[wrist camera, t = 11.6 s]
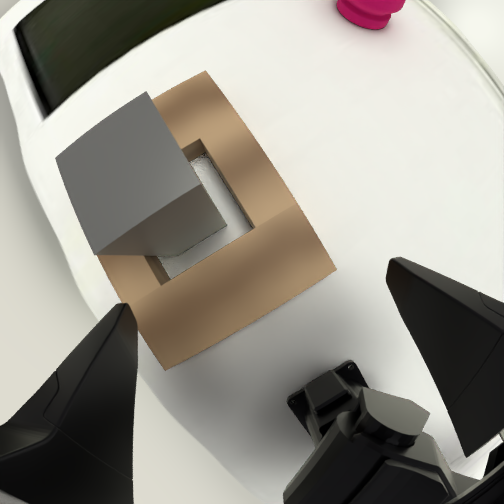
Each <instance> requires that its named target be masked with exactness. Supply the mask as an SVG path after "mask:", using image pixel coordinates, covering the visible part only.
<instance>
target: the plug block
mask: <svg viewBox="0 0 504 504" xmlns="http://www.w3.org/2000/svg"><path fill="white" fill-rule="evenodd" d="M55 159H56V162H57V165H58V168H59V171H60V174H61V177H62V179H63V182H64V185H65V188H66V190H67V193H68V195H69V198H70V201H71V203H72V206H73V208H74V211H75V213H76V215H77V218H78V220H79V222H80V225H81V227H82V229H83V232H84V234H85V236H86V238H87V240H88V243H89V245H90V247H91V249H92V251H93V253H94V255H134V256H178V255H180V254H181V253H183V252H185V251H186V250H188V249H189V248H191V247H193V246H194V245H196V244H197V243H199V242H201V241H202V240H204V239H205V238H207V237H209V236H210V235H212V234H214V233H215V232H217V231H219V230H220V229H222V228H223V227H225V226H227V224H226V223H225V221H224V219H223V218H222V216H221V214H220V213H219V211H218V209H217V208H216V206H215V204H214V203H213V201H212V199H211V198H210V196H209V194H208V193H207V191H206V189H205V188H204V186H203V184H202V183H201V181H200V179H199V178H198V176H197V174H196V173H195V171H194V169H193V168H192V166H191V164H190V163H189V161H188V159H187V158H186V156H185V155H184V153H183V151H182V150H181V148H180V146H179V145H178V143H177V141H176V140H175V138H174V136H173V135H172V133H171V131H170V130H169V128H168V126H167V125H166V123H165V121H164V120H163V118H162V116H161V115H160V113H159V111H158V110H157V108H156V106H155V105H154V103H153V101H152V100H151V98H150V96H149V95H148V93H147V91H146V92H144V93H143V94H141V95H140V96H138V97H136V98H135V99H133V100H132V101H130V102H129V103H127V104H125V105H124V106H122V107H121V108H119V109H118V110H116V111H115V112H114V113H112V114H111V115H109V116H108V117H106V118H105V119H104V120H102V121H101V122H99V123H98V124H97V125H95V126H94V127H93V128H91V129H90V130H89V131H87V132H86V133H85V134H84V135H82V136H81V137H80V138H78V139H77V140H76V141H75V142H74V143H72V144H71V145H70V146H69V147H67V148H66V149H65V150H64V151H63V152H62V153H60V154H59V155H58V156H57V157H56V158H55Z"/></svg>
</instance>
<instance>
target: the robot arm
mask: <svg viewBox="0 0 504 504" xmlns="http://www.w3.org/2000/svg"><path fill="white" fill-rule="evenodd" d="M386 283H387V286H388V288H389V290H390V292H391V295H392V297H393V299H394V301H395V304H396V306H397V308H398V311H399V313H400V315H401V317H402V319H403V321H404V323H405V325H406V327H407V328H408V330H409V332H410V334H411V336H412V338H413V340H414V342H415V344H416V345H417V347H418V349H419V351H420V353H421V355H422V357H423V359H424V361H425V363H426V365H427V367H428V369H429V371H430V373H431V376H432V378H433V380H434V382H435V384H436V386H437V388H438V391H439V393H440V395H441V397H442V400H443V402H444V404H445V406H446V409H447V410H448V414H449V416H450V418H451V421H452V423H453V426H454V428H455V431H456V433H457V436H458V439H459V441H460V444H461V446H462V449H463V452H464V454H465V457H466V458H467V457H469V456H470V455H471V454H473V453H474V452H476V451H477V450H479V449H480V448H481V447H483V446H484V445H485V444H487V443H488V442H489V441H491V440H492V439H493V438H494V437H496V436H497V435H498V434H499V435H500V437H501V439H502V441H503V442H502V443H501V444H500V445H498V446H497V447H496V448H495V449H493V450H492V451H491V452H490V454H489V458H488V462H487V465H486V469H485V473H484V476H483V478H482V479H481V480H477V479H474V478H471V477H467V476H464V475H461V474H458V473H455V472H453V471H451V470H450V468H449V466H448V464H447V462H446V461H445V459H444V457H443V455H442V453H441V451H440V449H439V447H438V445H437V444H436V442H435V440H434V438H433V437H432V436H430V435H428V434H426V433H424V432H422V429H423V427H424V425H425V423H426V421H427V419H428V417H429V415H430V413H429V412H428V411H426V410H425V409H423V408H422V407H420V406H419V405H417V404H416V403H414V402H413V401H411V400H408V399H404V398H400V397H397V396H393V395H390V394H386V393H383V392H379V391H376V390H373V389H369V387H368V385H367V384H366V382H365V380H364V378H363V376H362V374H361V372H360V371H359V369H358V367H357V365H356V364H355V363H354V362H353V361H352V360H349V361H347V362H345V363H344V364H342V365H341V366H339V367H338V368H336V369H334V370H333V371H332V370H330V371H328V372H327V373H325V374H324V375H322V376H320V377H319V378H317V379H315V380H314V381H312V382H310V383H309V384H307V385H305V387H304V388H303V389H302V390H300V391H298V392H296V393H295V394H293V395H291V396H289V397H288V399H287V404H288V406H289V407H290V408H291V410H292V411H293V413H294V414H295V415H296V417H297V418H298V420H299V421H300V422H301V424H302V425H303V426H304V428H305V429H306V430H307V432H308V433H309V434H310V436H311V437H312V440H313V443H314V445H315V450H314V451H313V453H312V454H311V455H310V457H309V458H308V459H307V461H306V462H305V463H304V465H303V466H302V467H301V469H300V470H299V471H298V473H297V474H296V475H295V476H294V478H293V479H292V480H291V481H290V483H289V484H288V485H287V487H286V489H285V491H284V493H283V499H284V504H504V303H503V302H500V301H498V300H496V299H494V298H492V297H489V296H487V295H485V294H483V293H481V292H478V291H477V290H474V289H472V288H470V287H468V286H466V285H464V284H462V283H459V282H457V281H455V280H453V279H451V278H448V277H446V276H444V275H442V274H439V273H437V272H435V271H433V270H430V269H428V268H426V267H423V266H421V265H419V264H416V263H414V262H412V261H409V260H407V259H405V258H402V257H396V258H391V259H390V261H389V264H388V269H387V274H386ZM349 365H352V367H351V368H348V366H349ZM137 369H138V324H137V321H136V318H135V316H134V314H133V312H132V309H131V307H130V305H129V304H128V303H119V304H116V305H115V306H114V307H113V308H112V309H111V310H110V311H109V312H108V313H107V314H106V315H105V316H104V317H103V318H102V319H101V320H100V322H99V323H98V324H97V325H96V326H95V327H94V328H93V329H92V330H91V331H90V332H89V334H88V335H87V336H86V337H85V338H84V339H83V340H82V341H81V342H80V343H79V344H78V345H77V346H76V348H75V349H74V350H73V351H72V352H71V353H70V354H69V355H68V357H67V358H66V359H65V360H64V361H63V362H62V363H61V365H60V366H59V367H58V368H57V369H56V371H54V372H53V374H52V375H51V376H50V377H49V378H48V380H46V382H45V383H44V384H43V385H42V386H41V387H40V389H39V390H37V392H36V393H35V394H34V395H33V396H32V397H31V398H30V399H29V400H28V401H27V402H26V403H25V404H24V405H23V406H22V407H21V408H20V409H19V410H18V411H17V412H16V413H15V414H14V415H13V416H12V417H11V418H10V419H9V420H8V421H7V422H6V423H5V424H3V425H1V426H0V504H134V502H133V480H132V479H133V426H134V407H135V393H136V380H137ZM292 400H296V401H295V402H294V403H291V401H292Z"/></svg>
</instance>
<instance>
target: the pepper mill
mask: <svg viewBox="0 0 504 504" xmlns="http://www.w3.org/2000/svg"><path fill="white" fill-rule="evenodd" d="M404 3H405V0H338V1H337V8H338V10H339V12H340V13H341V14H342V15H343V16H344V17H345V18H346V19H348V20H349V21H351V22H352V23H354V24H356V25H358V26H361V27H364V28H368V29H382V28H384V27H385V26H386V25H387V23H388V21H389V20H390V18H391V13H395V12H398V11H399V10H401V8H402V7H403V5H404Z"/></svg>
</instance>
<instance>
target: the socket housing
mask: <svg viewBox="0 0 504 504" xmlns="http://www.w3.org/2000/svg"><path fill="white" fill-rule="evenodd" d="M152 101H153V103H154V105H155V106H156V108H157V110H158V111H159V113H160V115H161V116H162V118H163V120H164V121H165V123H166V125H167V126H168V128H169V130H170V131H171V133H172V135H173V136H174V138H175V140H176V141H177V143H178V145H179V146H180V148H181V150H182V151H183V153H184V155H185V156H186V158H187V159H188V161H189V162H190V161H192V160H193V159H195V158H197V157H198V156H200V155H202V154H204V153H205V152H206V154H207V155H208V157H209V159H210V160H211V162H212V163H213V165H214V167H215V168H216V170H217V171H218V173H219V175H220V176H221V178H222V179H223V181H224V183H225V184H226V186H227V187H228V189H229V191H230V192H231V194H232V196H233V197H234V199H235V200H236V202H237V204H238V205H239V207H240V208H241V210H242V212H243V213H244V215H245V217H246V218H247V220H248V221H249V223H250V225H251V226H252V228H253V230H251V231H249V232H248V233H246V234H244V235H243V236H241V237H239V238H238V239H236V240H234V241H233V242H231V243H230V244H228V245H226V246H225V247H223V248H221V249H220V250H218V251H216V252H215V253H213V254H212V255H210V256H208V257H207V258H205V259H203V260H202V261H200V262H199V263H197V264H195V265H194V266H192V267H191V268H189V269H187V270H186V271H184V272H183V273H181V274H179V275H178V276H176V277H175V278H173V279H171V280H170V278H169V277H168V275H167V273H166V272H165V270H164V268H163V266H162V265H161V263H160V261H159V259H158V258H157V256H134V255H97V257H98V259H99V261H100V263H101V265H102V267H103V269H104V270H105V272H106V274H107V276H108V278H109V280H110V282H111V284H112V286H113V287H114V289H115V291H116V293H117V295H118V297H119V298H120V300H121V302H122V303H128V304H129V305H130V307H131V309H132V312H133V314H134V316H135V318H136V321H137V324H138V330H139V332H140V334H141V335H142V337H143V338H144V340H145V342H146V343H147V345H148V346H149V348H150V349H151V351H152V352H153V354H154V355H155V357H156V358H157V360H158V361H159V363H160V364H161V366H162V367H163V369H164V370H165V371H166V370H168V369H170V368H172V367H173V366H175V365H177V364H179V363H181V362H183V361H185V360H187V359H189V358H190V357H192V356H194V355H196V354H198V353H200V352H201V351H203V350H205V349H207V348H209V347H210V346H212V345H214V344H216V343H218V342H219V341H221V340H223V339H225V338H226V337H228V336H230V335H232V334H233V333H235V332H237V331H239V330H240V329H242V328H244V327H246V326H247V325H249V324H251V323H252V322H254V321H256V320H257V319H259V318H261V317H262V316H264V315H266V314H267V313H269V312H271V311H272V310H274V309H276V308H277V307H279V306H281V305H282V304H284V303H285V302H287V301H289V300H290V299H292V298H294V297H295V296H297V295H298V294H300V293H301V292H303V291H305V290H306V289H308V288H309V287H311V286H312V285H314V284H316V283H317V282H319V281H320V280H322V279H323V278H325V277H326V276H328V275H329V274H331V273H332V272H334V271H336V270H337V269H336V267H335V265H334V263H333V262H332V260H331V258H330V257H329V255H328V253H327V251H326V250H325V248H324V246H323V245H322V243H321V241H320V239H319V238H318V236H317V234H316V233H315V231H314V229H313V228H312V226H311V224H310V223H309V221H308V219H307V218H306V216H305V215H304V213H303V211H302V210H301V208H300V206H299V205H298V203H297V202H296V200H295V198H294V197H293V195H292V194H291V192H290V191H289V189H288V187H287V186H286V184H285V183H284V181H283V180H282V178H281V177H280V175H279V173H278V172H277V170H276V169H275V167H274V166H273V164H272V163H271V161H270V160H269V158H268V157H267V155H266V154H265V152H264V151H263V149H262V148H261V146H260V145H259V143H258V142H257V141H256V139H255V138H254V136H253V135H252V133H251V132H250V130H249V129H248V128H247V126H246V125H245V123H244V122H243V120H242V119H241V118H240V116H239V115H238V113H237V112H236V111H235V109H234V108H233V106H232V105H231V104H230V102H229V101H228V100H227V98H226V97H225V95H224V94H223V93H222V91H221V90H220V89H219V87H218V86H217V85H216V83H215V82H214V81H213V79H212V78H211V77H210V75H209V74H208V73H207V71H204V72H202V73H200V74H198V75H196V76H194V77H192V78H190V79H188V80H186V81H184V82H182V83H180V84H179V85H177V86H175V87H173V88H171V89H170V90H168V91H166V92H164V93H163V94H161V95H159V96H158V97H156V98H154V99H152Z"/></svg>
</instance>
